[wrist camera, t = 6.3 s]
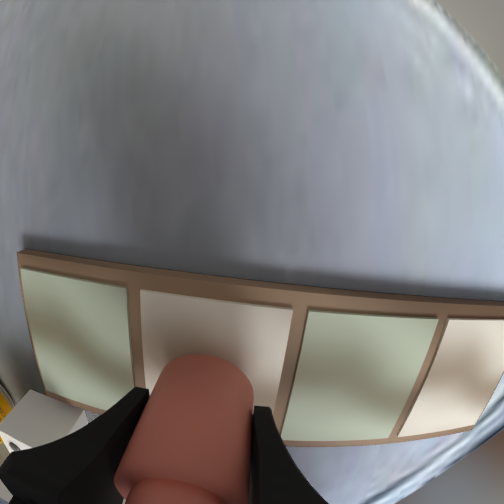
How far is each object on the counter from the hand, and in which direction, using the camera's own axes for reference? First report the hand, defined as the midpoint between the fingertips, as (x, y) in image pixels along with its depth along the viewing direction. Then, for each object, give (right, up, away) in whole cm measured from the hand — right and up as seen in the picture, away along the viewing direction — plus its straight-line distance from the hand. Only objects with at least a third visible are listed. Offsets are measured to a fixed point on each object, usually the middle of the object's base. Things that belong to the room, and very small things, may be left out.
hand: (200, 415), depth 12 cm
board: (+4, 0, +4) cm, 5 cm away
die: (-12, -6, +6) cm, 15 cm away
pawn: (0, 0, +1) cm, 1 cm away
